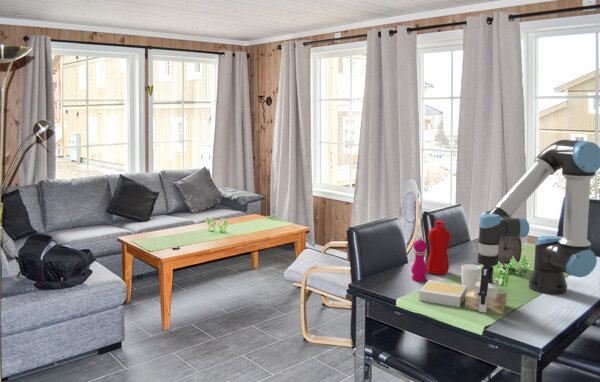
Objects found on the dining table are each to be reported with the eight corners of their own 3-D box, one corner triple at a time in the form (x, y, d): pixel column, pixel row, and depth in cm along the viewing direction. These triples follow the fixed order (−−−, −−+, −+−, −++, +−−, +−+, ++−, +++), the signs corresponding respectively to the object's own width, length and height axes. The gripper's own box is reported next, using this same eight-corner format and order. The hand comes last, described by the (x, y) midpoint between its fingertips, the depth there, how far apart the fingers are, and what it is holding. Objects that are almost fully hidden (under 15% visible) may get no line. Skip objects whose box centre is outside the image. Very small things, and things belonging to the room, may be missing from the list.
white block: (497, 294, 207) (498, 284, 207) (495, 298, 202) (496, 288, 202) (476, 291, 211) (477, 281, 210) (474, 295, 206) (474, 285, 205)
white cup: (464, 284, 234) (465, 263, 232) (482, 288, 229) (483, 266, 227) (457, 289, 227) (458, 267, 226) (475, 293, 223) (476, 270, 221)
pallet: (505, 305, 209) (506, 293, 208) (502, 314, 200) (503, 301, 199) (469, 300, 215) (469, 288, 214) (464, 308, 206) (465, 296, 205)
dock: (466, 294, 221) (467, 285, 220) (459, 306, 207) (460, 297, 206) (428, 288, 228) (428, 279, 228) (419, 300, 214) (419, 290, 213)
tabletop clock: (488, 269, 257) (491, 219, 253) (487, 264, 265) (490, 215, 262) (520, 272, 253) (523, 220, 249) (518, 266, 261) (521, 217, 258)
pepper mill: (427, 282, 237) (428, 239, 234) (410, 281, 238) (412, 238, 235) (426, 277, 244) (428, 235, 241) (410, 276, 245) (412, 234, 242)
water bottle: (446, 277, 245) (448, 224, 241) (424, 272, 251) (426, 221, 247) (454, 272, 252) (456, 221, 248) (432, 268, 258) (434, 218, 255)
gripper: (482, 245, 217) (479, 295, 220) (472, 260, 195) (469, 315, 198) (502, 247, 213) (499, 297, 217) (494, 263, 191) (490, 318, 195)
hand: (485, 306), depth 207 cm, fingers open, 13 cm apart
